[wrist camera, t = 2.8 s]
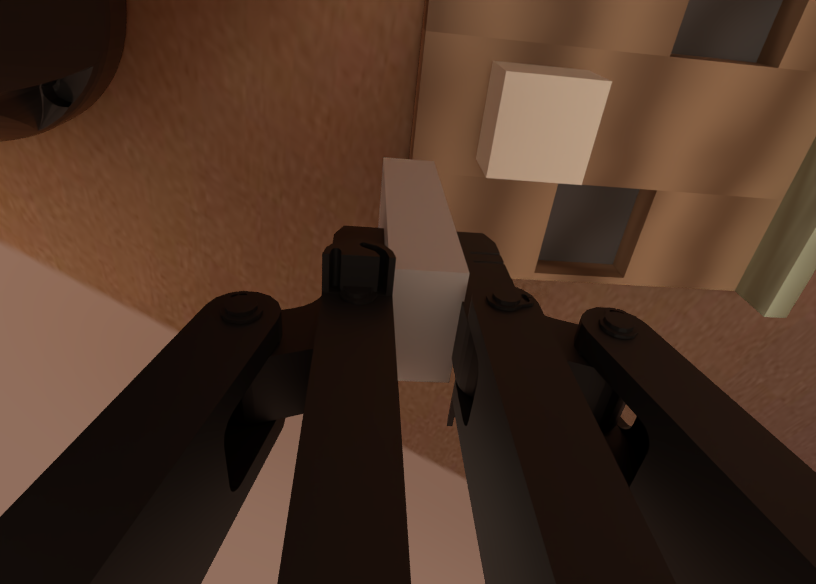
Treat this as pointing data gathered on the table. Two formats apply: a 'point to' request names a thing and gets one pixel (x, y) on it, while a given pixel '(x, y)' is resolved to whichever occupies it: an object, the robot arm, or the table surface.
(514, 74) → the block
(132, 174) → the table surface
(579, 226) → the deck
